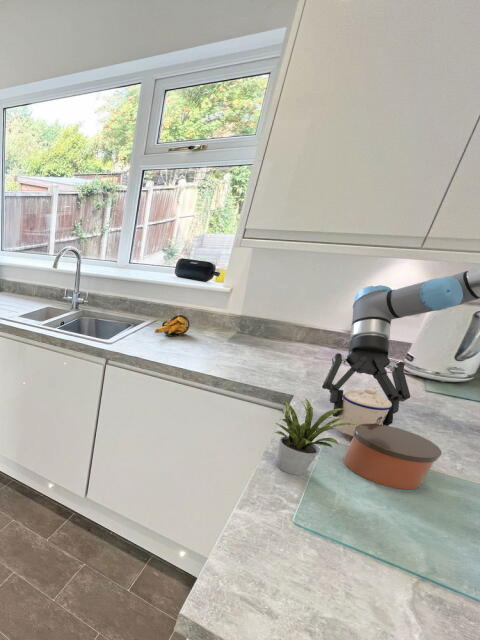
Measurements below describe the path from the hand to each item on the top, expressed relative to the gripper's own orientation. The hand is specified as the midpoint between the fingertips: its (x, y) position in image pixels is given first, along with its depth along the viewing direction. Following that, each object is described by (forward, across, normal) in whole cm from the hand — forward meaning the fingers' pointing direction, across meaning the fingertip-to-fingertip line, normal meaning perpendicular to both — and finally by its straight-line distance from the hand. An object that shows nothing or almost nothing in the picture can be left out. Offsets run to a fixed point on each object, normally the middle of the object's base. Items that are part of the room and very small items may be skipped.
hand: (361, 419), depth 103 cm
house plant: (+20, +14, +13) cm, 28 cm away
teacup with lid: (+1, -1, -5) cm, 5 cm away
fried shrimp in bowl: (-44, +49, -51) cm, 84 cm away
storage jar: (+14, -2, +7) cm, 16 cm away
